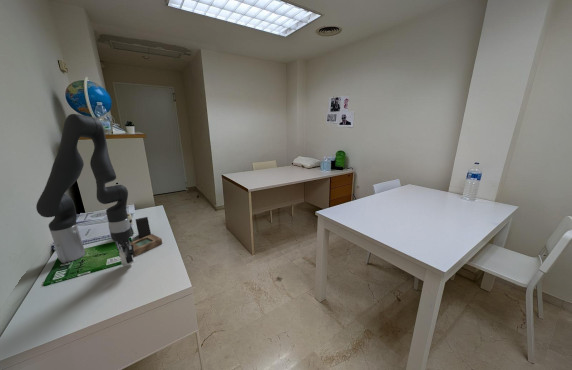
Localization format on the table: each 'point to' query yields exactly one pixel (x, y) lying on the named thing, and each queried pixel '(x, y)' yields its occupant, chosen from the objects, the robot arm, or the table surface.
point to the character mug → (130, 222)
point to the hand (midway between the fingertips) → (127, 260)
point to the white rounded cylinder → (124, 258)
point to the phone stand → (143, 227)
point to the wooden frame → (145, 244)
